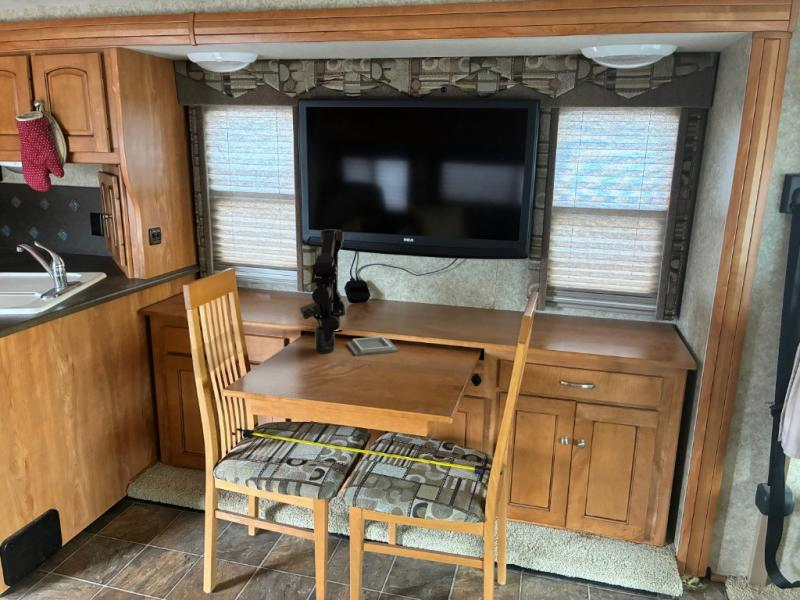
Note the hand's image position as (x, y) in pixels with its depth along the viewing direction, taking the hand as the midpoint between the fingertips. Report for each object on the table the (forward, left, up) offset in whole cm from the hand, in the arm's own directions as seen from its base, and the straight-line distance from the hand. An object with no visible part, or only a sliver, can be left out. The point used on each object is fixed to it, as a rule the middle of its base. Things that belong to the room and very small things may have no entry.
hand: (324, 338), depth 216 cm
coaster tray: (+2, +17, -4) cm, 18 cm away
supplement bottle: (0, 0, -5) cm, 5 cm away
